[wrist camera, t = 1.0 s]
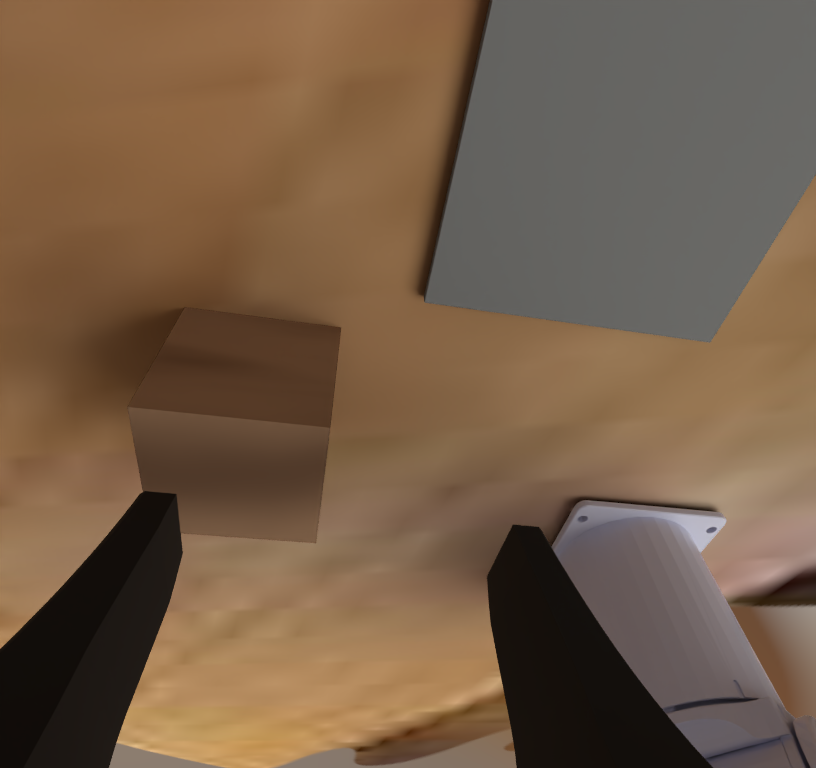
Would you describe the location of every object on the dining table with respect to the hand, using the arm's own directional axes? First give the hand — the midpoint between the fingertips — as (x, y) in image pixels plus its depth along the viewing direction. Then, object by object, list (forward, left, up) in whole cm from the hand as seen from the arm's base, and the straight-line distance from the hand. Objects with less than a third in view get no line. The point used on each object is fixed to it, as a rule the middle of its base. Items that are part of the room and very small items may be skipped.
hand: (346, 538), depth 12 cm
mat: (+7, -8, -10) cm, 14 cm away
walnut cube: (-3, +3, -10) cm, 11 cm away
